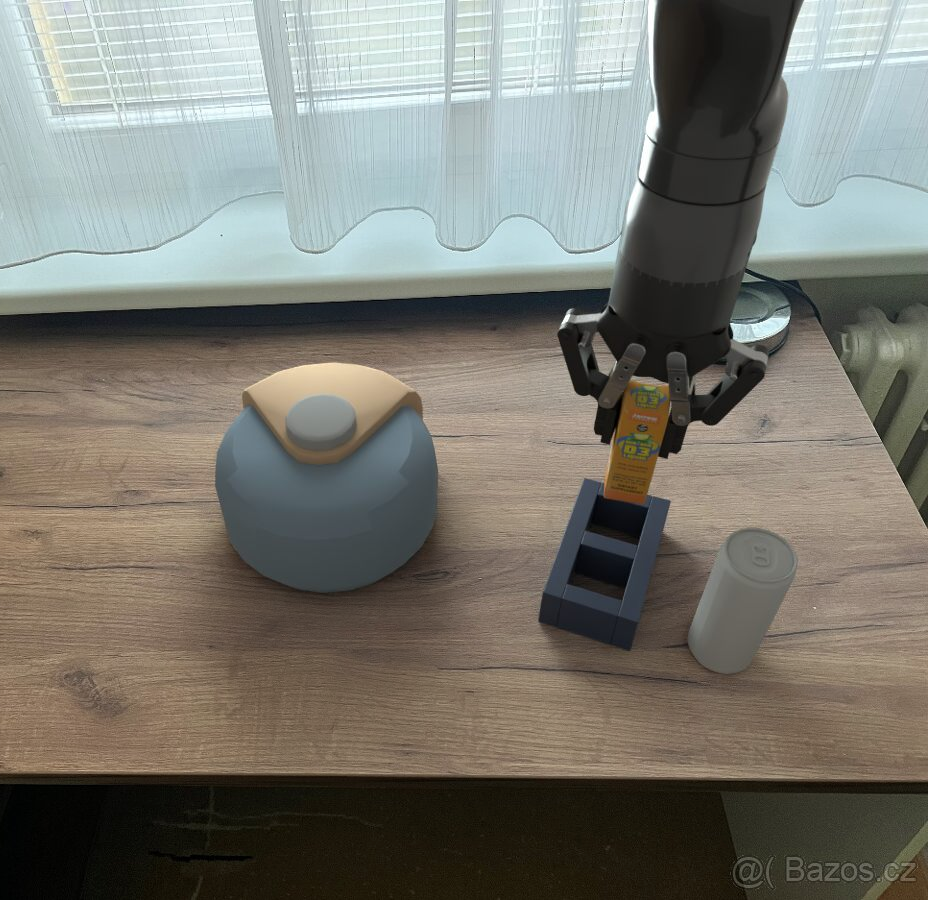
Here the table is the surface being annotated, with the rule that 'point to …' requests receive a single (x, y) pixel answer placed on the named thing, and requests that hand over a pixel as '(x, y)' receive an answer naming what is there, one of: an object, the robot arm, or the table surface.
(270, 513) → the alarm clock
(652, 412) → the supplement box
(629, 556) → the holder
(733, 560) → the beverage can
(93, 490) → the table surface
